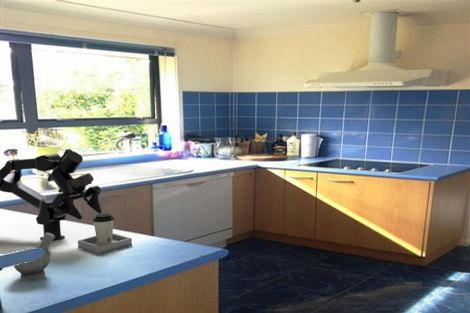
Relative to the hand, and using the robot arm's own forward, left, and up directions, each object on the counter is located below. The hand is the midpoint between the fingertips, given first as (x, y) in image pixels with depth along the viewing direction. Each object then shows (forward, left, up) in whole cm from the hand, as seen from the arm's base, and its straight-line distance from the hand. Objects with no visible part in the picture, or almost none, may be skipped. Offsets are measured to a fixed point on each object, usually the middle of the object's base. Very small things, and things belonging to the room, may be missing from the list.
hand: (91, 215), depth 152 cm
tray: (+5, +1, -10) cm, 12 cm away
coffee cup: (+5, +1, -10) cm, 11 cm away
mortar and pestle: (+13, -27, -10) cm, 32 cm away
